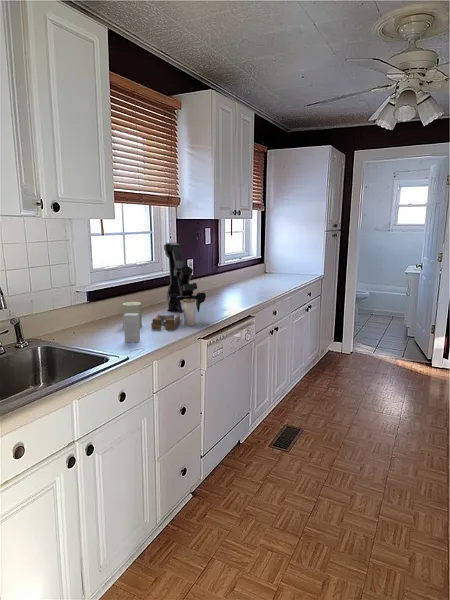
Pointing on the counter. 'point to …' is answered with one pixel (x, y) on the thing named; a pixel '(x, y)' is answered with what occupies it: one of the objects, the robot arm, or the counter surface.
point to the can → (132, 310)
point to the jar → (189, 311)
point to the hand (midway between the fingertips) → (190, 312)
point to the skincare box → (131, 327)
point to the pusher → (164, 317)
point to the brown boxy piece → (170, 323)
